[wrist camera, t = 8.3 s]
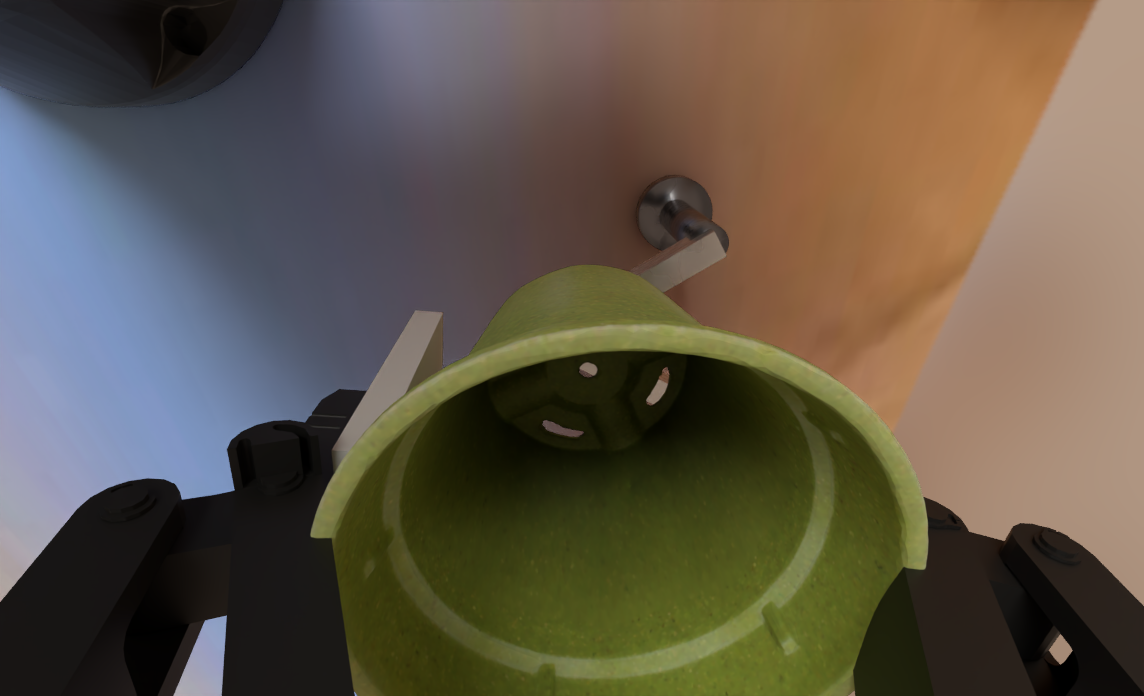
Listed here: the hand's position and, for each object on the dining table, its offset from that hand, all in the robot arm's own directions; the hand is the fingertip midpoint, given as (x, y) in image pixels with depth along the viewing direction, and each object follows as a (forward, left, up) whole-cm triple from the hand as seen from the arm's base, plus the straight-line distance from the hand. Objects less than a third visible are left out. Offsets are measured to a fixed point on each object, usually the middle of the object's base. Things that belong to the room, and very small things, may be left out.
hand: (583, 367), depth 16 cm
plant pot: (0, 0, 0) cm, 0 cm away
